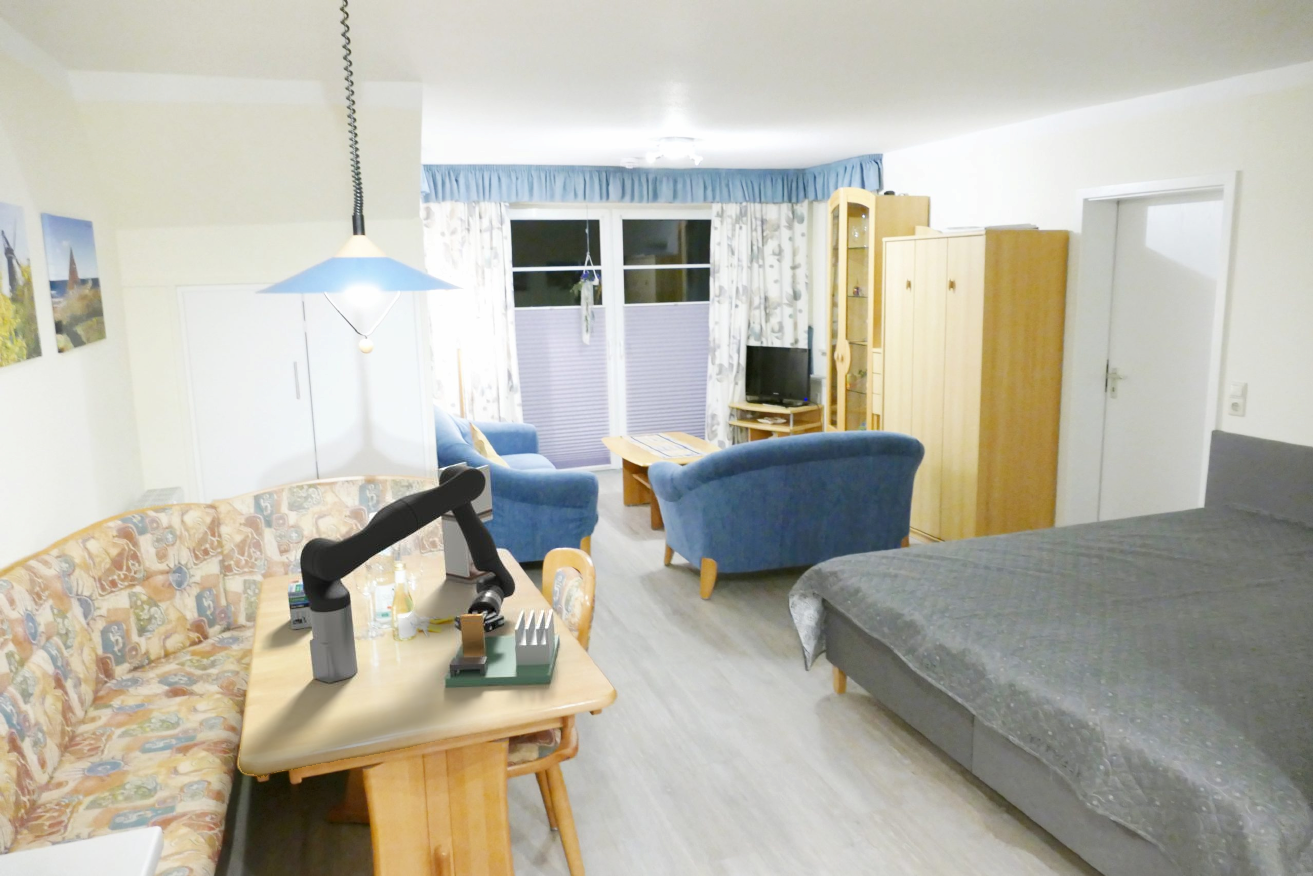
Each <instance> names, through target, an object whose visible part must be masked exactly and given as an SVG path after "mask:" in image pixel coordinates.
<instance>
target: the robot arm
mask: <svg viewBox="0 0 1313 876" xmlns="http://www.w3.org/2000/svg"><path fill="white" fill-rule="evenodd" d="M449 466H450V467H448V466H446V467H447V468H446V469H445V470H444V471H443V472H442V473H441V475H440V479H439V480H438V486H436V487H433V488H429V489H427V490H423V491H418V492H415V493H412V494H408V495H405V496H403V497H401V498H399V499H397V500H395V501H393V502H391V503H389V504H387V505H385V506H384V507H382V508H381V509H380V510H378V511H377V512H376V513H375V514H374V516H373V517H372V518H371V520H370V521H369V522H368V524H367V525H366V526H365V527H364V528H363V529H361V530H359V531H358V532H356V533H353V534H352V535H351V536H348V537H346V538H344V539H341V540H338V541H337V540H333V539H330V538H325V537H316V538H313V539H311V540H309V541H308V542H307V543H306V544H305V545H304V546H303V548H302V550H301V552H300V553H301V554H300V557H299V561H300V563H299V566H300V573H301V574H300V575H301V580H302V581H303V587H304V593H305V596H306V598H307V600H308V602H309V607H310V615H311V625H312V627H311V632H312V633H311V635H312V638H311V639H310V640H309V649H310V651H309V652H310V658H311V659H310V660H311V667H312V669H311V670H312V678H313V679H315V680H319V681H322V682H324V683H328V684H331V683H333V682H339V681H343V680H347V679H349V678H352V677H353V676H355V674H357V672H358V660H357V651H356V642H355V631H354V630H355V629H354V621H353V611H352V600H351V593H350V590H349V589H348V588H347V587H346V586H345V585H344V584H343V582H342V580H341V579H344V578H345V577H347V576H349V575H350V574H351V573H352V572H354V571H355V570H356V569H358V568H359V567H361V566H362V565H363V564H364V563H366V562H367V561H368V560H370V559H371V558H373V557H375V556H376V555H378V554H379V553H382V552H383V551H385V550H386V549H388V548H390V547H391V546H393V545H395V544H396V543H399V542H400V541H402V540H404V539H406V538H407V537H410V536H411V535H413V534H415V533H416V532H417V531H419V530H421V529H422V528H424V527H425V526H427V525H428V524H432V522H434V521H435V520H437V519H438V518H440V517H441V516H442V515H443V514H445V513H447V512H449V511H452V513H453V515H454V517H455V519H456V521H457V523H458V525H459V527H460V529H461V531H462V533H463V535H464V537H465V540H466V542H467V545H468V548H469V551H470V554H471V557H472V560H473V563H474V566H475V568H476V569H477V570H478V571H481V572H492V573H494V574H493V575H489V576H485V577H482V578H480V579H479V580H478V581H477V582H475V590H476V596H475V597H474V598H473V600H472V603H471V604H470V607H469V608H468V611H467V613H466V614H483V622H484V633H490V632H493V631H495V630H498V629H501V628H502V627H504V626H505V615H502V614H501V615H500V613H501V611H502V610H501V609H502V606H503V602H504V600H505V599H506V598H510V597H512V596H513V595H514V593H515V591H516V583H515V580H514V577H513V576H512V574H511V573H510V572H509V570H508V569H507V568H506V566H505V564H504V563H503V561H502V560H501V558H500V556H499V552H498V549H497V546H496V543H495V540H494V537H493V536H492V534H491V532H490V530H489V529H488V528H487V526H486V524H484V522H482V521H481V520H480V518H479V517H478V515H477V514H476V512H475V510H474V508H473V506H472V504H471V501H473V500H475V499H477V498H478V497H479V496H480V495H481V494H482V492H483V490H484V488H485V484H486V479H485V476H484V474H483V473H482V472H481V471H480V470H479V469H477V468H478V467H474V466H470V465H469V466H468V465H467V466H452V465H449ZM453 619H454V628H455V629H456V630H459V631H460V632H461V621H460V616H454V618H453Z"/></svg>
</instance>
